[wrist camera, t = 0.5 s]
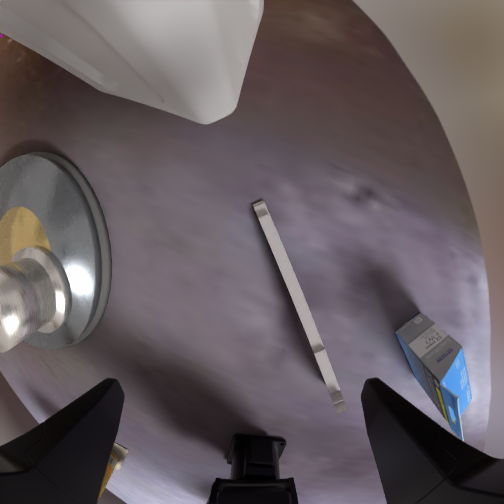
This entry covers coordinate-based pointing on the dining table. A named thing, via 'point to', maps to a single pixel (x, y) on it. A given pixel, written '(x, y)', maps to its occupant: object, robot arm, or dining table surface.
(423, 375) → the label tape box
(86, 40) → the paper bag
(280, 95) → the dining table surface
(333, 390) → the caliper
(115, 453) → the condiment
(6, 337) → the cover
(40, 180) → the platter
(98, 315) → the turntable base
